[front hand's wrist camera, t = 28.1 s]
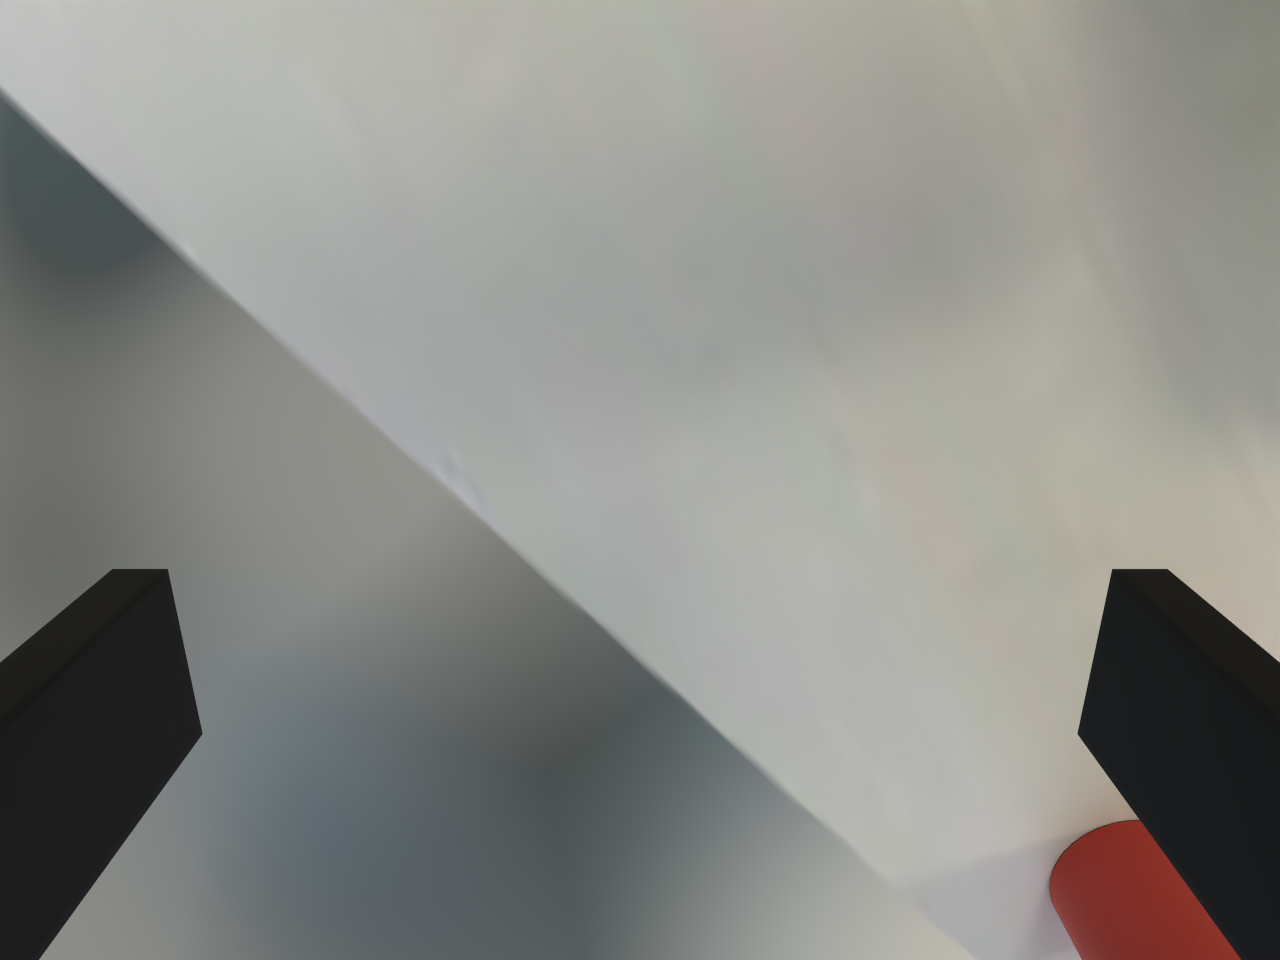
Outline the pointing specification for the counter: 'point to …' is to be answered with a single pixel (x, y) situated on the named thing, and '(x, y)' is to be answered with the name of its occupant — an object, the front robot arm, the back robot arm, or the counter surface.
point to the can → (1131, 901)
